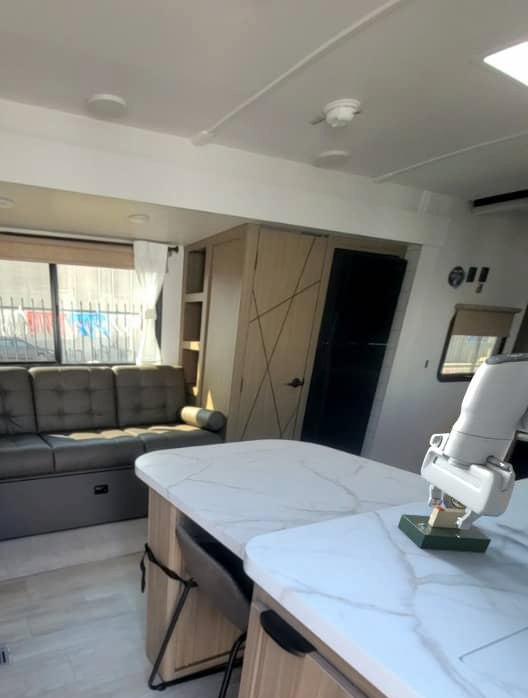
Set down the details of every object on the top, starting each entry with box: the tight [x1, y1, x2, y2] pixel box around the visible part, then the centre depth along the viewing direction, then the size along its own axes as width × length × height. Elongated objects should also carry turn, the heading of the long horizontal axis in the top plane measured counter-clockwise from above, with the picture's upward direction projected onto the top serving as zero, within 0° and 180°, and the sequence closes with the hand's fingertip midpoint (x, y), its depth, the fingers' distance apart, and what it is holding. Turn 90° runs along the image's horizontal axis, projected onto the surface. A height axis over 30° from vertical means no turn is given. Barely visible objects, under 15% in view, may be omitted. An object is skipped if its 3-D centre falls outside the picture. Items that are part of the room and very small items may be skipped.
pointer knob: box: [428, 506, 467, 529], centre depth 79 cm, size 6×2×4 cm, turn 85°
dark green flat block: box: [397, 513, 492, 554], centre depth 81 cm, size 12×10×3 cm
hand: (446, 516), depth 79 cm, fingers open, 8 cm apart
